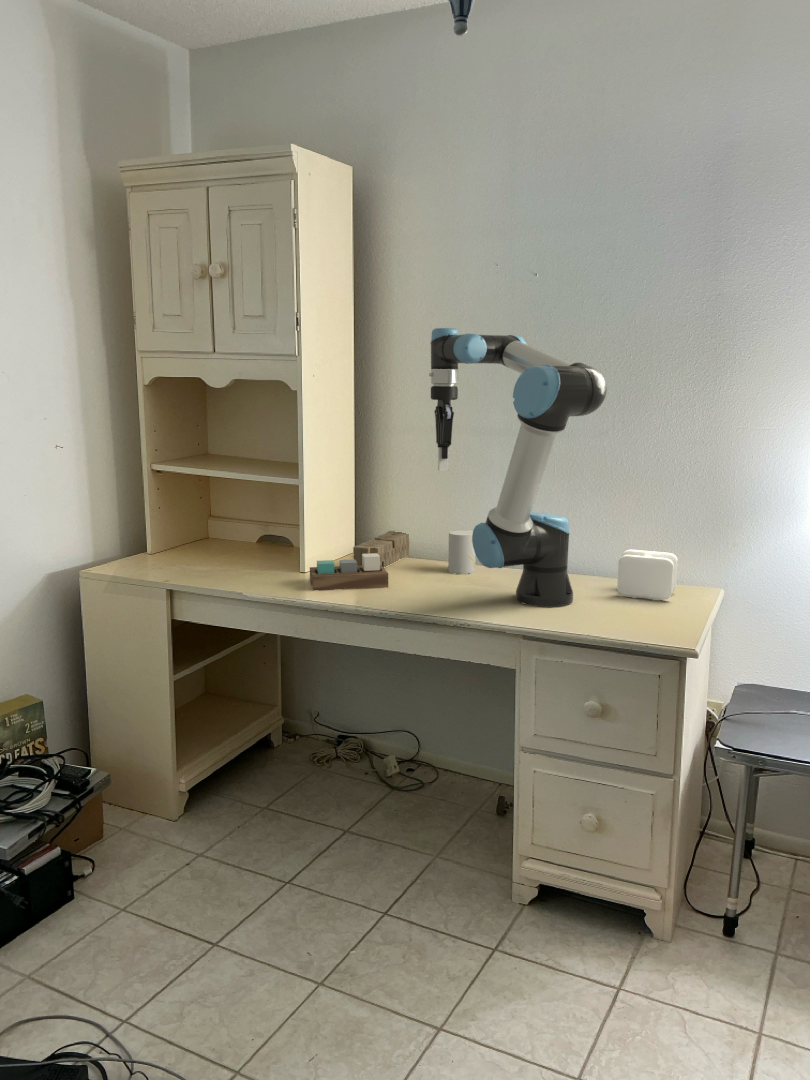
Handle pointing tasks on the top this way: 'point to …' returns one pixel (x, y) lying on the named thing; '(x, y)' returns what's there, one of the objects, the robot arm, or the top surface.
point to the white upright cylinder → (461, 552)
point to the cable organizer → (647, 574)
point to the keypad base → (348, 579)
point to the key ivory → (370, 562)
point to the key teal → (325, 567)
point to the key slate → (348, 566)
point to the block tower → (384, 548)
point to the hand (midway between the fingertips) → (443, 470)
